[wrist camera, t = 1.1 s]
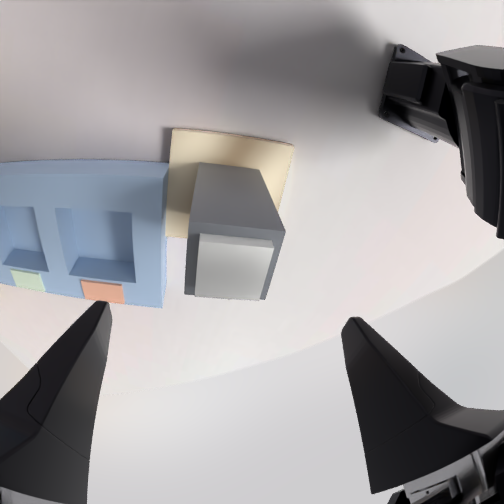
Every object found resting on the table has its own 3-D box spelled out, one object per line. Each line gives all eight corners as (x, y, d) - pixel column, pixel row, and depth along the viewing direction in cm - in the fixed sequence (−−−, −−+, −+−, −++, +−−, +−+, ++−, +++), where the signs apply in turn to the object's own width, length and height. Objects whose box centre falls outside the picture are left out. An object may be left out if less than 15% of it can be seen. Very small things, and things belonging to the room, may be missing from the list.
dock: (170, 162, 18) (162, 179, 15) (166, 285, 24) (162, 312, 21) (-13, 164, 14) (-35, 179, 11) (11, 265, 20) (-3, 286, 18)
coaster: (291, 144, 18) (294, 146, 17) (267, 240, 22) (268, 245, 22) (174, 128, 16) (172, 130, 16) (166, 230, 21) (165, 236, 20)
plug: (259, 169, 18) (289, 239, 11) (248, 220, 20) (266, 308, 13) (199, 162, 17) (187, 229, 10) (193, 215, 19) (183, 303, 13)
